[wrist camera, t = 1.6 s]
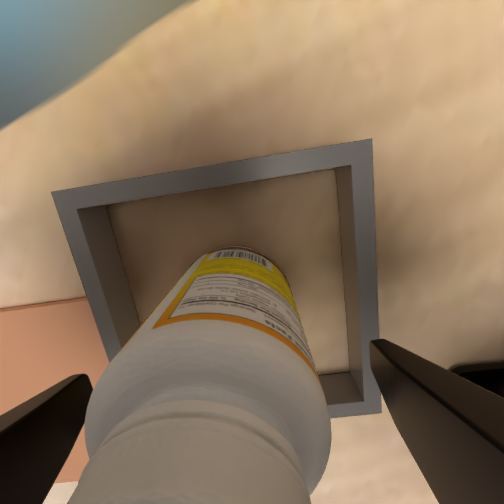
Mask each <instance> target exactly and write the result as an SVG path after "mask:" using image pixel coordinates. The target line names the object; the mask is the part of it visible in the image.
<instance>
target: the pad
mask: <svg viewBox="0 0 504 504" xmlns="http://www.w3.org/2000/svg"><path fill="white" fill-rule="evenodd" d="M108 365H109V361H108V358H107V355H106V352H105V349H104V346H103V343H102V340H101V337H100V334H99V331H98V328H97V325H96V322H95V320H94V317H93V314H92V311H91V308H90V305H89V302H88V299H87V297H85V298H78V299H70V300H63V301H56V302H49V303H41V304H34V305H27V306H19V307H12V308H5V309H0V415H2V414H4V413H6V412H7V411H9V410H11V409H13V408H14V407H16V406H18V405H20V404H22V403H23V402H25V401H27V400H29V399H30V398H32V397H34V396H36V395H37V394H39V393H41V392H43V391H45V390H46V389H48V388H50V387H52V386H53V385H55V384H57V383H59V382H60V381H62V380H64V379H66V378H67V377H69V376H71V375H75V374H83V373H84V374H87V375H88V376H89V379H90V382H91V384H92V387H93V389H94V387H95V385H96V384H97V382H98V380H99V378H100V376H101V375H102V373H103V372H104V370H105V369H106V368H107V366H108ZM84 426H85V423H84V425H83V427H82V429H81V432H80V434H79V436H78V438H77V440H76V442H75V444H74V447H73V449H72V451H71V453H70V455H69V457H68V459H67V460H66V462H65V464H64V466H63V468H62V470H61V471H60V473H59V475H58V477H57V479H56V480H55V482H54V483H62V482H73V481H79V479H80V477H81V474H82V472H83V470H84V468H85V466H86V465H87V463H88V462H89V456H88V453H87V449H86V442H85V435H84Z"/></svg>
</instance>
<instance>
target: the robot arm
mask: <svg viewBox="0 0 504 504" xmlns="http://www.w3.org/2000/svg"><path fill="white" fill-rule="evenodd" d="M369 354H370V367H371V370H372V373H373V375H374V378H375V380H376V382H377V384H378V387H379V389H380V391H381V394H382V396H383V398H384V400H385V403H386V405H387V407H388V410H389V412H390V414H391V416H392V419H393V421H394V423H395V425H396V427H397V429H398V431H399V432H400V434H401V436H402V438H403V440H404V441H405V443H406V445H407V447H408V449H409V450H410V452H411V454H412V456H413V458H414V459H415V461H416V463H417V465H418V466H419V468H420V470H421V472H422V474H423V475H424V477H425V479H426V481H427V483H428V484H429V486H430V488H431V490H432V492H433V493H434V495H435V497H436V499H437V500H438V502H439V504H504V362H500V363H491V364H482V365H472V366H463V367H457V368H455V369H453V370H452V371H451V372H450V371H448V370H446V369H444V368H442V367H440V366H438V365H436V364H434V363H432V362H430V361H428V360H426V359H424V358H422V357H420V356H418V355H416V354H414V353H412V352H410V351H408V350H406V349H404V348H402V347H400V346H398V345H396V344H394V343H392V342H390V341H388V340H386V339H375V340H371V341H370V342H369ZM92 392H93V387H92V384H91V382H90V379H89V376H88V375H87V374H84V373H83V374H75V375H71V376H69V377H67V378H66V379H64V380H62V381H60V382H59V383H57V384H55V385H53V386H52V387H50V388H48V389H46V390H45V391H43V392H41V393H39V394H37V395H36V396H34V397H32V398H30V399H29V400H27V401H25V402H23V403H22V404H20V405H18V406H16V407H14V408H13V409H11V410H9V411H7V412H6V413H4V414H2V415H0V504H43V502H44V500H45V498H46V496H47V495H48V493H49V491H50V489H51V487H52V486H53V484H54V482H55V480H56V479H57V477H58V475H59V473H60V471H61V470H62V468H63V466H64V464H65V462H66V460H67V459H68V457H69V455H70V453H71V451H72V449H73V447H74V444H75V442H76V440H77V438H78V436H79V434H80V432H81V429H82V427H83V425H84V423H85V417H86V411H87V407H88V403H89V400H90V397H91V394H92Z"/></svg>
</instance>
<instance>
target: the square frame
mask: <svg viewBox="0 0 504 504" xmlns="http://www.w3.org/2000/svg"><path fill="white" fill-rule="evenodd" d="M334 168H336V177H337V192H338V206H339V221H340V235H341V250H342V264H343V278H344V293H345V307H346V322H347V336H348V351H349V365H350V372H347V373H338V374H329V375H320V376H318V377H319V380H320V383H321V386H322V389H323V392H324V395H325V399H326V403H327V407H328V411H329V415H330V418H337V417H348V416H358V415H368V414H378V413H382V410H381V391H380V389H379V387H378V384H377V382H376V380H375V378H374V375H373V373H372V370H371V367H370V354H369V342H370V341H371V340H375V339H379V323H378V294H377V265H376V236H375V207H374V178H373V149H372V139H366V140H360V141H354V142H348V143H342V144H336V145H330V146H324V147H318V148H312V149H306V150H300V151H294V152H288V153H282V154H276V155H270V156H264V157H258V158H252V159H246V160H240V161H234V162H228V163H222V164H216V165H210V166H204V167H198V168H192V169H186V170H180V171H174V172H168V173H162V174H156V175H150V176H144V177H138V178H132V179H126V180H120V181H114V182H108V183H102V184H96V185H90V186H84V187H78V188H72V189H66V190H60V191H54V192H51V194H52V197H53V199H54V202H55V205H56V208H57V211H58V214H59V217H60V220H61V223H62V226H63V229H64V232H65V235H66V238H67V240H68V243H69V246H70V249H71V252H72V255H73V258H74V261H75V264H76V267H77V270H78V273H79V276H80V279H81V281H82V284H83V287H84V290H85V293H86V296H87V299H88V302H89V305H90V308H91V311H92V314H93V317H94V320H95V322H96V325H97V328H98V331H99V334H100V337H101V340H102V343H103V346H104V349H105V352H106V355H107V358H108V361H109V363H110V362H111V361H112V359H113V358H114V357H115V356H116V355H117V353H118V352H119V351H120V350H121V349H122V347H123V346H124V345H125V344H126V343H127V342H128V340H129V339H130V338H131V337H132V336H133V334H134V333H135V332H136V331H137V330H138V329H139V327H140V322H139V319H138V315H137V312H136V309H135V305H134V302H133V298H132V295H131V292H130V288H129V285H128V281H127V278H126V275H125V271H124V268H123V264H122V261H121V258H120V254H119V251H118V247H117V244H116V240H115V237H114V234H113V230H112V227H111V223H110V220H109V217H108V213H107V210H106V206H105V205H110V204H116V203H122V202H129V201H135V200H141V199H147V198H153V197H160V196H166V195H172V194H178V193H185V192H191V191H197V190H203V189H209V188H216V187H222V186H228V185H234V184H241V183H247V182H253V181H259V180H265V179H272V178H278V177H284V176H290V175H296V174H303V173H309V172H315V171H321V170H328V169H334Z"/></svg>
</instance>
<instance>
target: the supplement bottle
mask: <svg viewBox="0 0 504 504" xmlns="http://www.w3.org/2000/svg"><path fill="white" fill-rule="evenodd" d="M84 435H85V442H86V449H87V453H88V456H89V462H88V463H87V465H86V466H85V468H84V470H83V472H82V474H81V477H80V479H79V482H78V486H77V487H76V489H75V491H74V493H73V494H72V496H71V498H70V499H69V501H68V503H67V504H311V501H310V495H311V494H312V492H313V491H314V489H315V488H316V486H317V485H318V483H319V481H320V479H321V477H322V475H323V473H324V471H325V468H326V465H327V462H328V458H329V454H330V447H331V422H330V415H329V411H328V407H327V403H326V399H325V395H324V392H323V389H322V386H321V383H320V380H319V377H318V374H317V371H316V368H315V365H314V362H313V359H312V356H311V352H310V349H309V346H308V343H307V340H306V337H305V334H304V331H303V327H302V324H301V321H300V318H299V315H298V312H297V309H296V306H295V303H294V300H293V297H292V293H291V290H290V287H289V284H288V282H287V280H286V277H285V275H284V274H283V272H282V271H281V269H280V268H279V267H278V266H277V264H276V263H275V262H274V261H272V260H271V259H270V258H269V257H267V256H266V255H264V254H262V253H261V252H258V251H256V250H253V249H250V248H246V247H240V246H229V247H222V248H218V249H215V250H212V251H210V252H208V253H206V254H204V255H203V256H201V257H200V258H199V259H197V260H196V261H195V262H194V263H193V264H192V265H191V266H190V267H189V269H188V270H187V271H186V272H185V273H184V275H183V276H182V277H181V278H180V279H179V280H178V282H177V283H176V284H175V285H174V287H173V288H172V289H171V290H170V291H169V293H168V294H167V295H166V296H165V297H164V299H163V300H162V301H161V302H160V304H159V305H158V306H157V307H156V308H155V310H154V311H153V312H152V313H151V314H150V316H149V317H148V318H147V319H146V320H145V321H144V323H143V324H142V325H141V326H140V327H139V329H138V330H137V331H136V332H135V333H134V334H133V336H132V337H131V338H130V339H129V340H128V342H127V343H126V344H125V345H124V346H123V347H122V349H121V350H120V351H119V352H118V353H117V355H116V356H115V357H114V358H113V359H112V361H111V362H110V363H109V365H108V366H107V368H106V369H105V370H104V372H103V373H102V375H101V376H100V378H99V380H98V382H97V384H96V385H95V387H94V389H93V392H92V394H91V397H90V400H89V403H88V407H87V411H86V417H85V426H84Z"/></svg>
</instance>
